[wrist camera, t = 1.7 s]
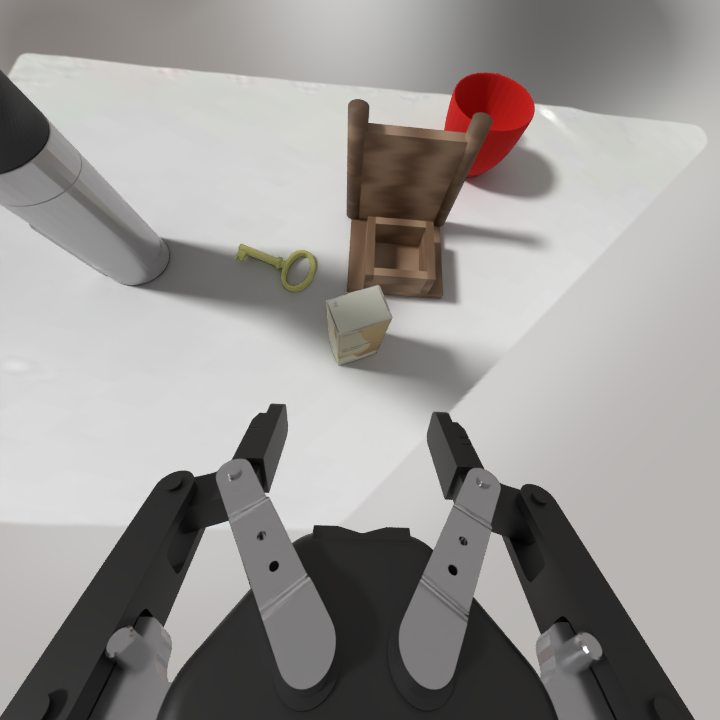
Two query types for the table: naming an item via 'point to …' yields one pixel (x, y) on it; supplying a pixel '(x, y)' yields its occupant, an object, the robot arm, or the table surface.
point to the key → (281, 264)
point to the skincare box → (357, 323)
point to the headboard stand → (403, 199)
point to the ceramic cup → (491, 114)
